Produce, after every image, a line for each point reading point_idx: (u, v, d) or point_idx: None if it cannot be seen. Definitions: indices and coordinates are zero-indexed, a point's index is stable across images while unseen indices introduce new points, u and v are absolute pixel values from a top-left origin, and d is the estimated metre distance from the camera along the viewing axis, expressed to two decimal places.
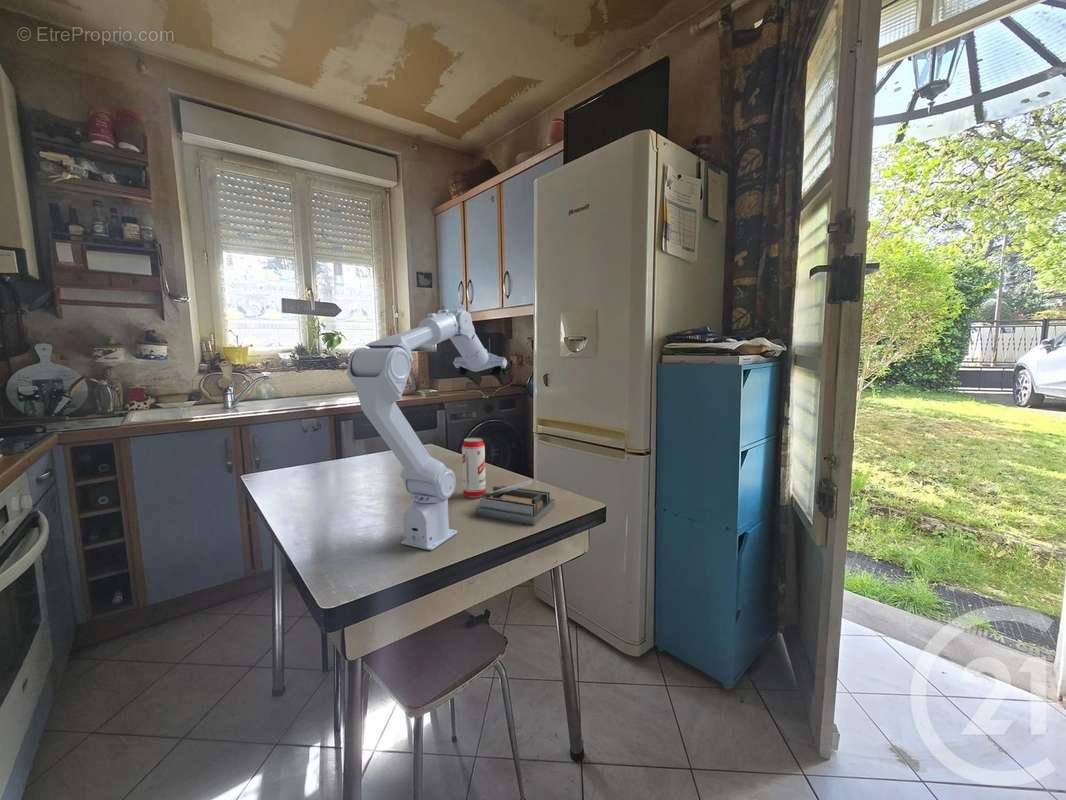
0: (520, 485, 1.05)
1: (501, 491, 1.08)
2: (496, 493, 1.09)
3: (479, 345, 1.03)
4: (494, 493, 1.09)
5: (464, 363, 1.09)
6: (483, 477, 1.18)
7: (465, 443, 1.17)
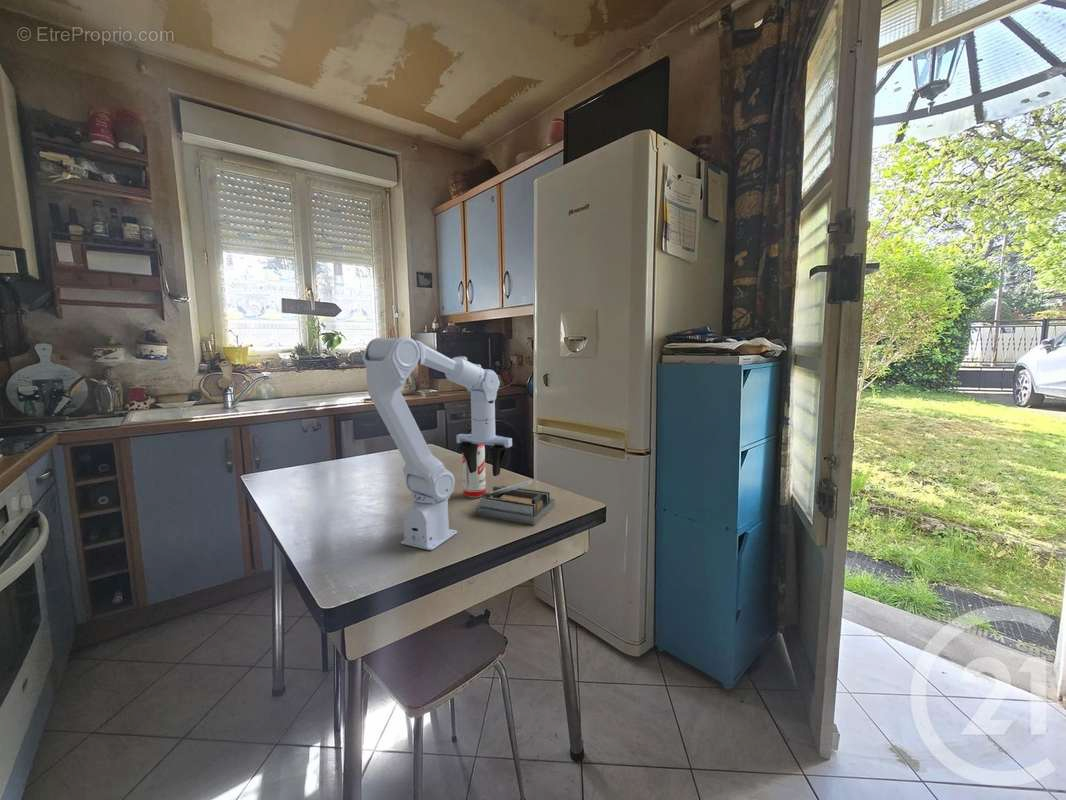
0: (520, 485, 1.05)
1: (501, 491, 1.08)
2: (496, 493, 1.09)
3: (492, 416, 1.02)
4: (494, 493, 1.09)
5: None
6: (483, 477, 1.18)
7: None
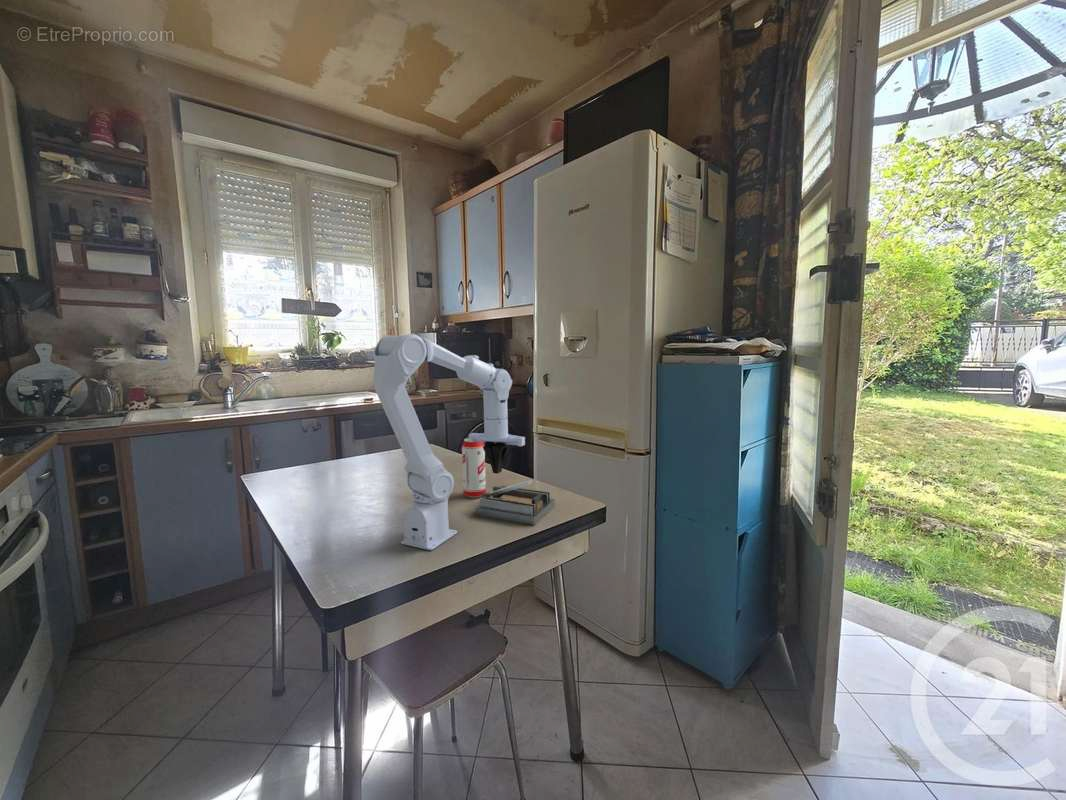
0: (520, 485, 1.05)
1: (501, 491, 1.08)
2: (496, 493, 1.09)
3: (503, 415, 1.02)
4: (494, 493, 1.09)
5: None
6: (483, 477, 1.18)
7: (465, 443, 1.17)
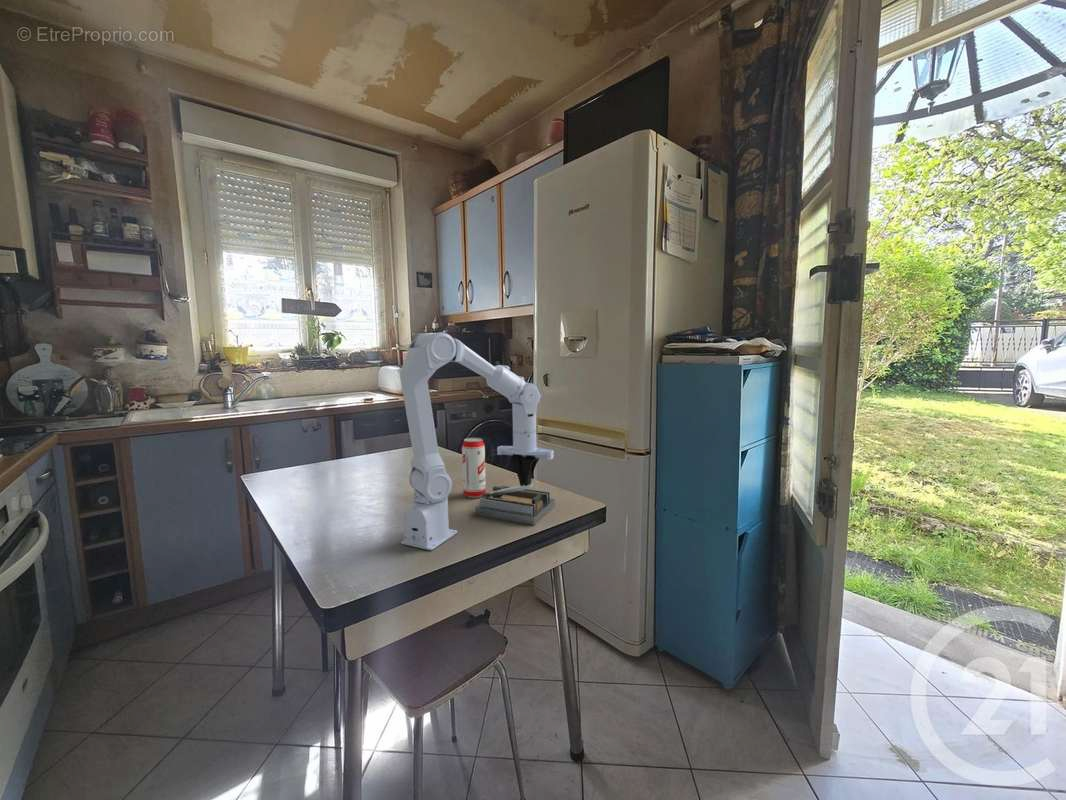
0: (521, 488, 1.05)
1: (501, 492, 1.08)
2: (496, 494, 1.09)
3: (531, 429, 1.02)
4: (494, 493, 1.09)
5: None
6: (483, 477, 1.18)
7: (465, 443, 1.17)
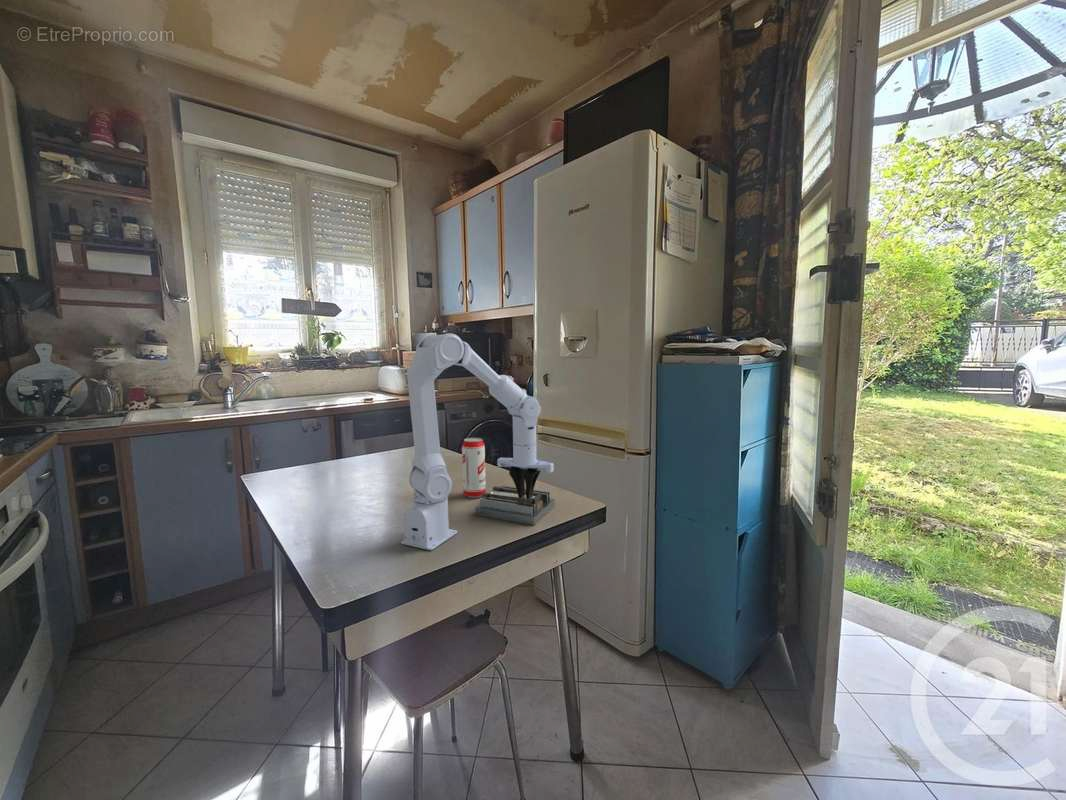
0: (523, 499, 1.06)
1: (502, 496, 1.08)
2: (497, 496, 1.09)
3: (531, 441, 1.03)
4: (495, 495, 1.09)
5: (509, 461, 1.07)
6: (483, 477, 1.18)
7: (465, 443, 1.17)
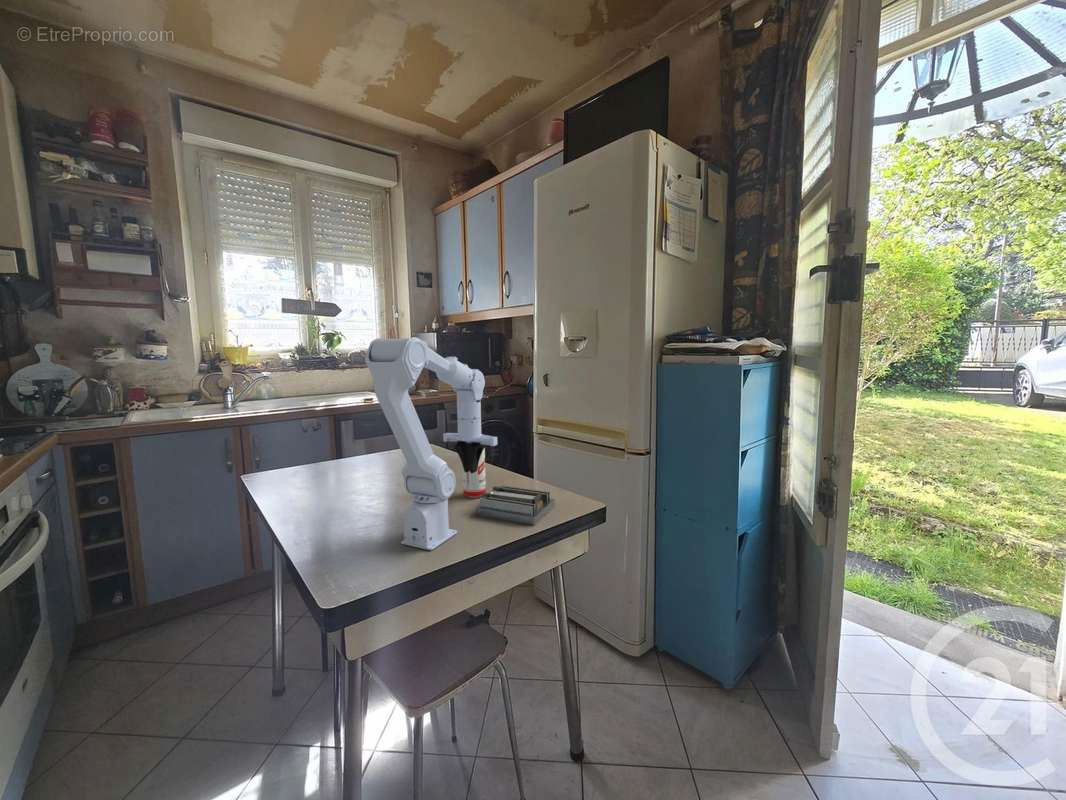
0: (523, 499, 1.06)
1: (502, 496, 1.08)
2: (497, 496, 1.09)
3: (479, 414, 1.04)
4: (495, 495, 1.09)
5: None
6: (483, 477, 1.18)
7: None
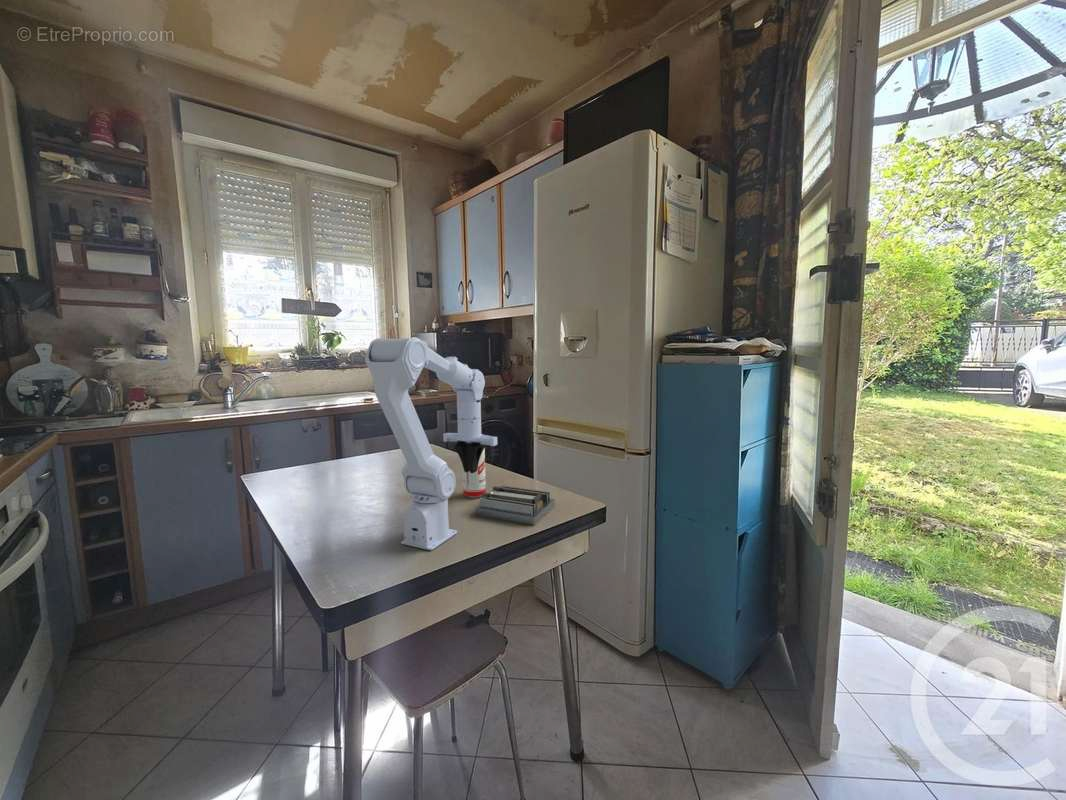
0: (523, 499, 1.06)
1: (502, 496, 1.08)
2: (497, 496, 1.09)
3: (479, 414, 1.04)
4: (495, 495, 1.09)
5: None
6: (483, 477, 1.18)
7: None
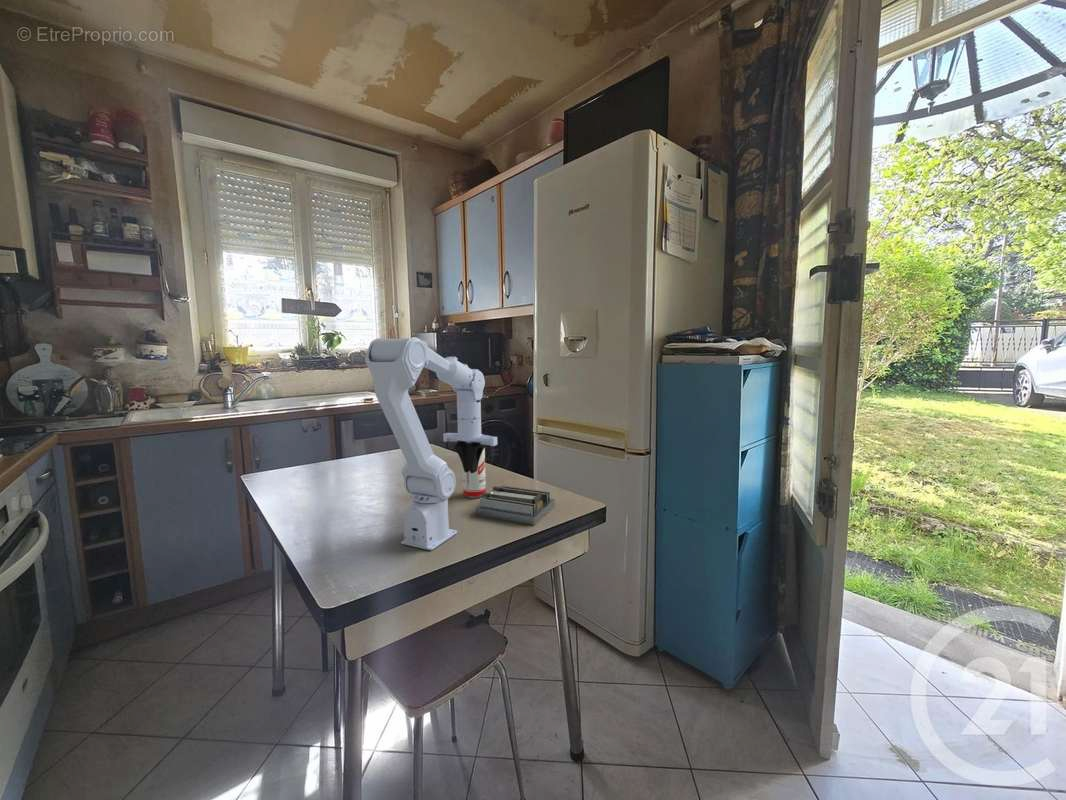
0: (523, 499, 1.06)
1: (502, 496, 1.08)
2: (497, 496, 1.09)
3: (479, 414, 1.04)
4: (495, 495, 1.09)
5: None
6: (483, 477, 1.18)
7: None
